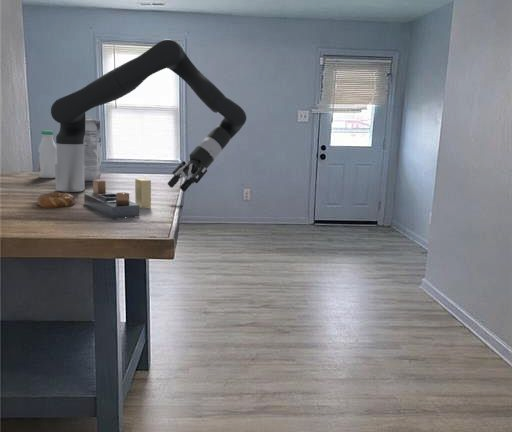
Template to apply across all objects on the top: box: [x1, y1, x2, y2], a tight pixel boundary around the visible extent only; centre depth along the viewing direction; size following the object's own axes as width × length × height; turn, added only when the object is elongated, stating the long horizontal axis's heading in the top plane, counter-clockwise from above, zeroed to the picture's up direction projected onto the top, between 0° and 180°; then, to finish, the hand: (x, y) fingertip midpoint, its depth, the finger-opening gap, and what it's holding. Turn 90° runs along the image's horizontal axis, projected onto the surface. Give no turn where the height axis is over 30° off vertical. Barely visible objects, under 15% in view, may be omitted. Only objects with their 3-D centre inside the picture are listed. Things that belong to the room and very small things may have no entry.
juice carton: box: [83, 115, 102, 182], centre depth 195 cm, size 9×10×27 cm
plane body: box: [83, 178, 141, 220], centre depth 140 cm, size 24×8×8 cm, turn 38°
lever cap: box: [134, 177, 152, 210], centre depth 147 cm, size 4×4×9 cm
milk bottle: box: [37, 130, 57, 179], centre depth 197 cm, size 8×8×20 cm
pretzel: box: [36, 191, 76, 209], centre depth 145 cm, size 12×11×4 cm
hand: (175, 187), depth 153 cm, fingers open, 8 cm apart
